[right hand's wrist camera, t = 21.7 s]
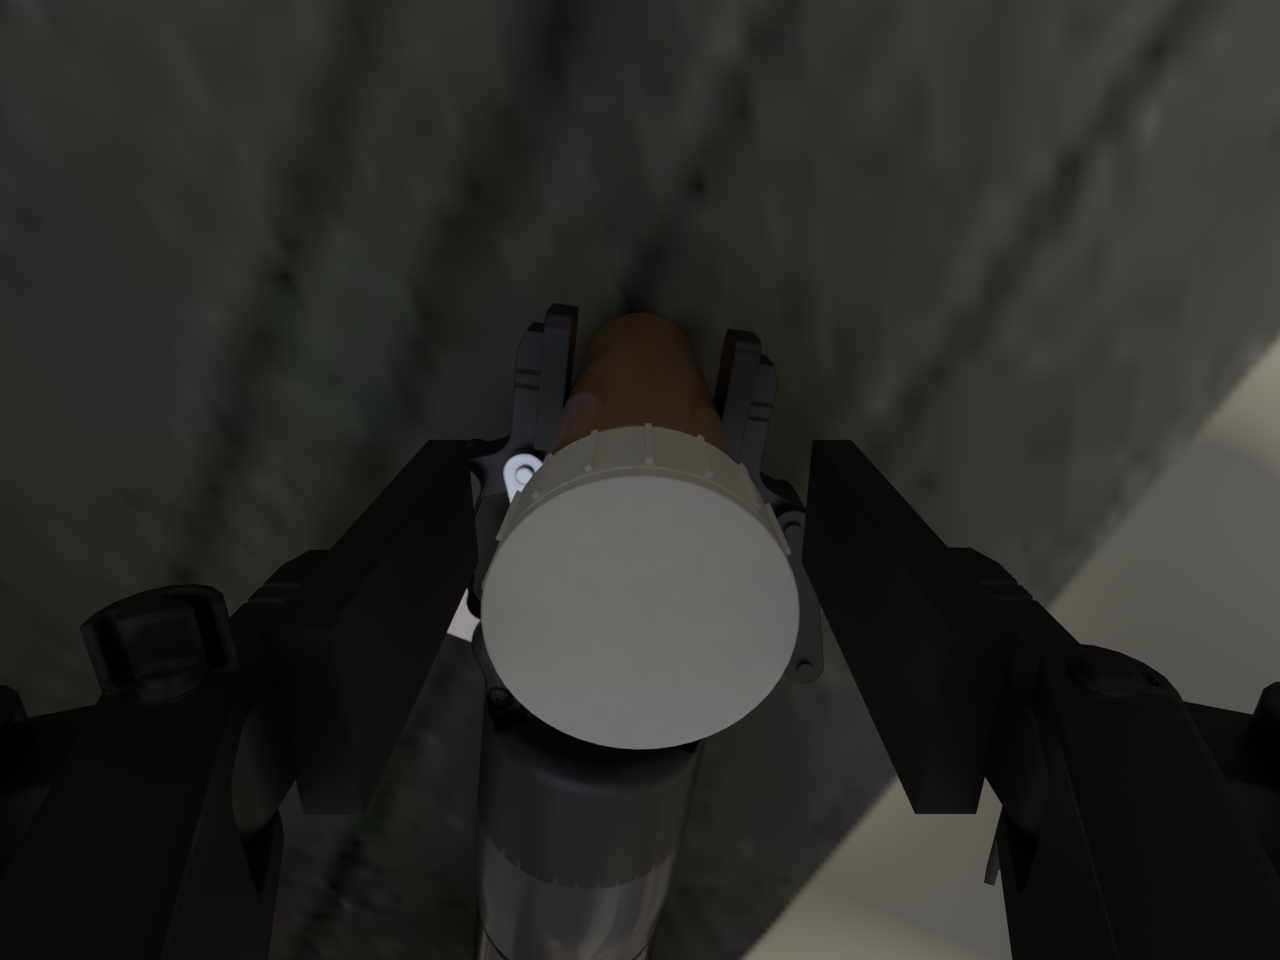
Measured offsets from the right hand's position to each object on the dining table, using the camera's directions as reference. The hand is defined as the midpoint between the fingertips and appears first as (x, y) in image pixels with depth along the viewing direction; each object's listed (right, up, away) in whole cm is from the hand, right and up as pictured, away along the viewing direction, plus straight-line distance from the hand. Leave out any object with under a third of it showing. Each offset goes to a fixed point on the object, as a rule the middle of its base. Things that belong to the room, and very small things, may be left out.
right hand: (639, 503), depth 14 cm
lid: (0, -2, -4) cm, 4 cm away
